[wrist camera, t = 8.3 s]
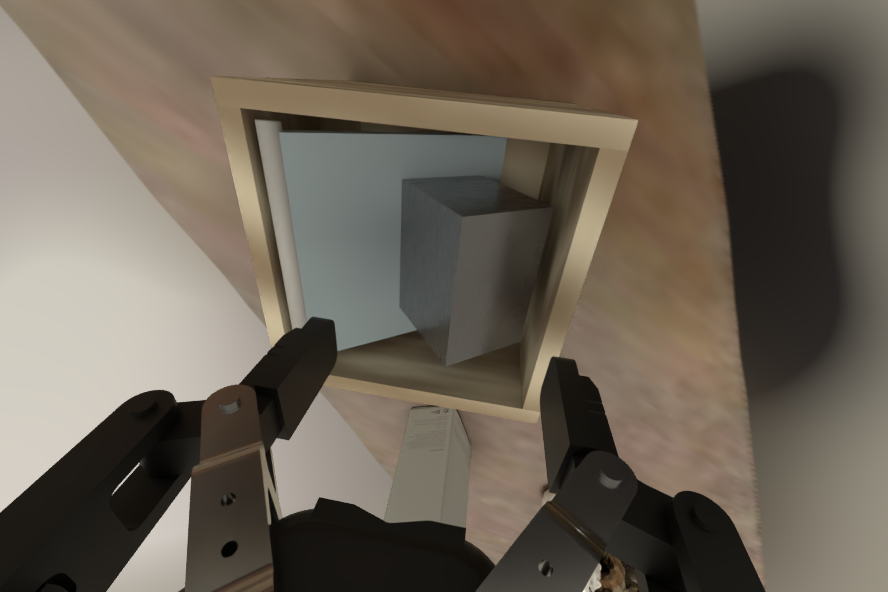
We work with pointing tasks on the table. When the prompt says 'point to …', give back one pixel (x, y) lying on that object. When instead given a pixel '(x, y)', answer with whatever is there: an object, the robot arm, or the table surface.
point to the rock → (614, 576)
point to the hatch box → (524, 169)
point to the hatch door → (354, 216)
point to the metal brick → (468, 262)
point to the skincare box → (431, 469)
